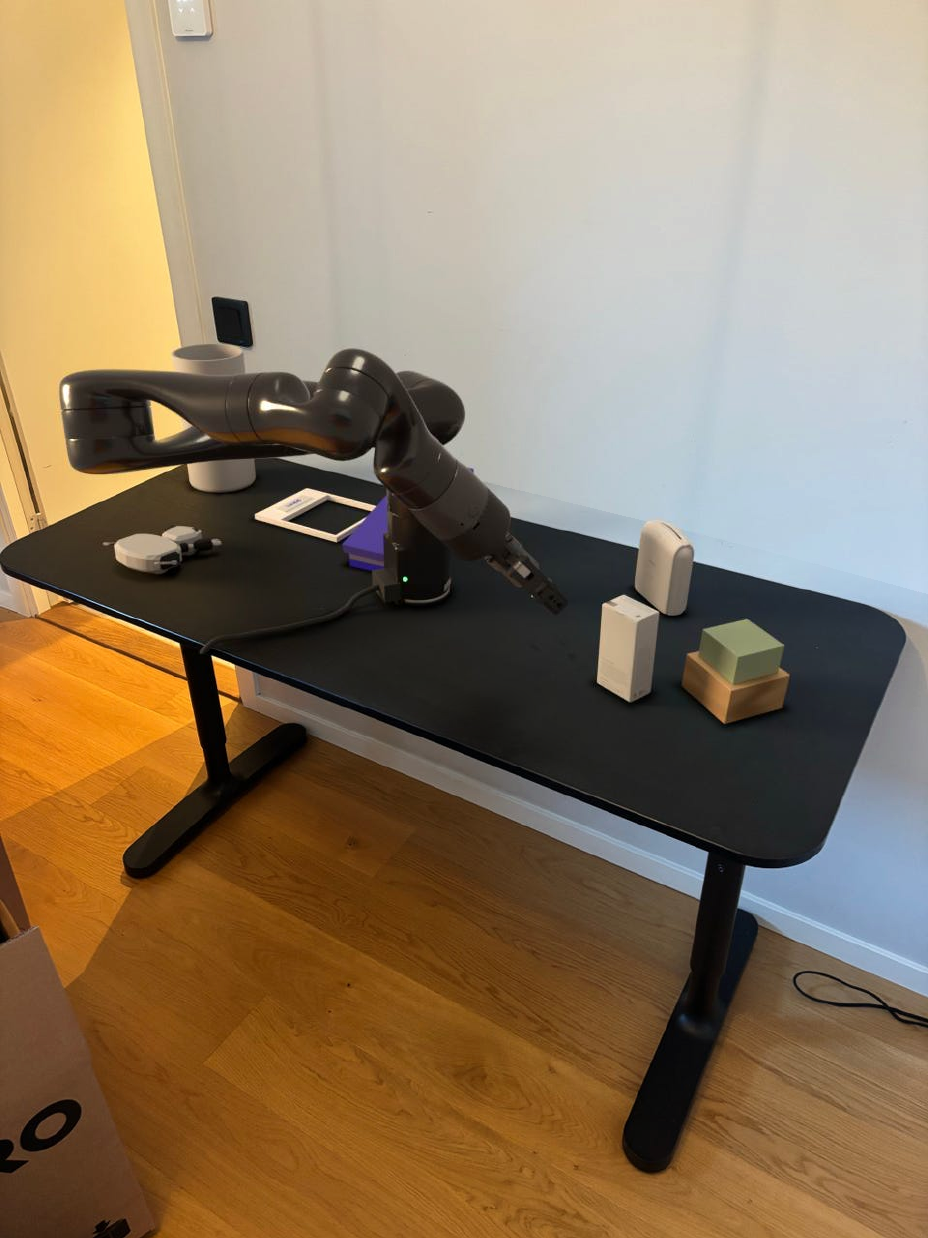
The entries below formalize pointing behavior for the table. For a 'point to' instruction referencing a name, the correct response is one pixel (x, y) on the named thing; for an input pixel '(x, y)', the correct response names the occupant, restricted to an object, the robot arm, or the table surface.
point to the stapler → (369, 539)
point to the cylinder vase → (202, 474)
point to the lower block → (733, 691)
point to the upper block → (740, 651)
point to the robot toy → (161, 548)
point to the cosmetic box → (627, 647)
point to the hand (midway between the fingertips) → (543, 591)
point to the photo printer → (664, 567)
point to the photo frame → (302, 503)
